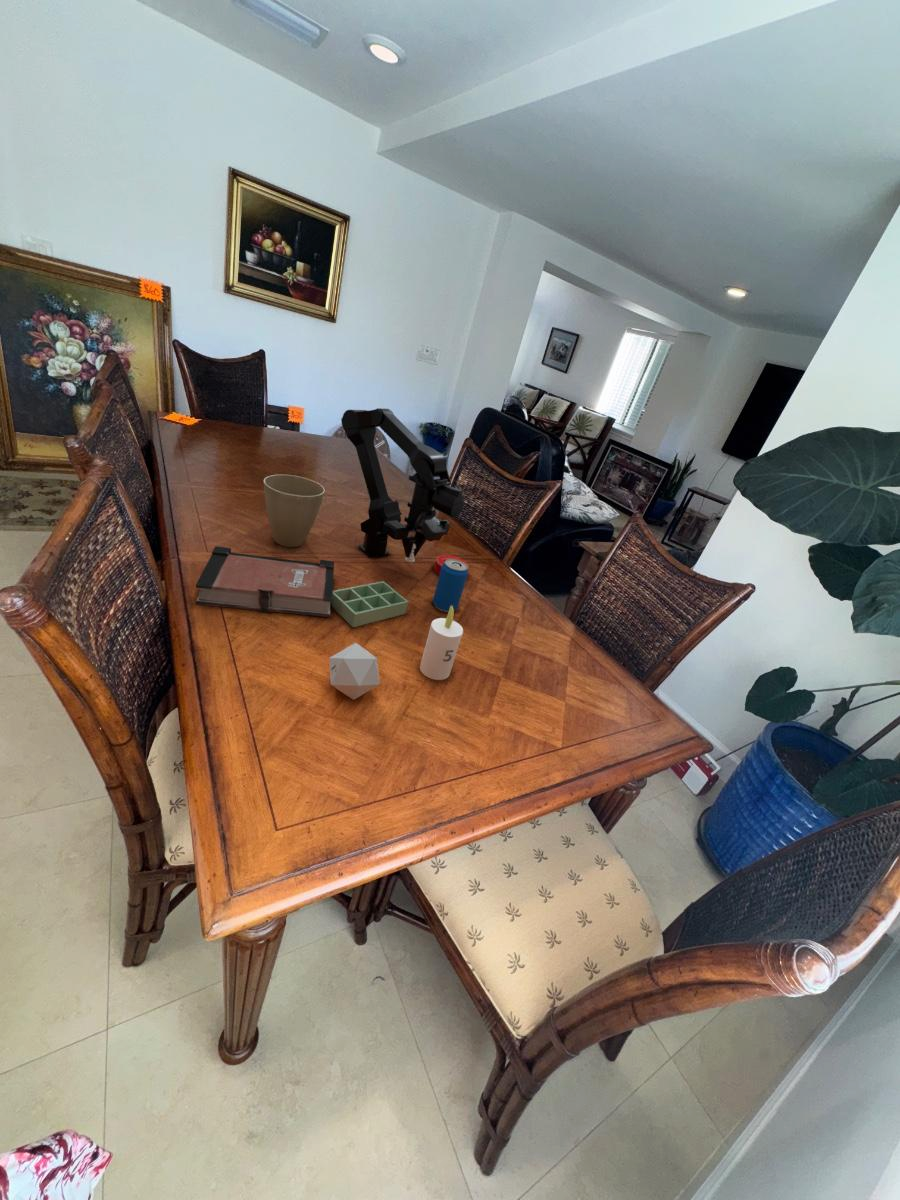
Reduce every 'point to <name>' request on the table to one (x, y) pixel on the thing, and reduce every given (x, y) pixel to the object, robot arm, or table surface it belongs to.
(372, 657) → the die
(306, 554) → the table surface
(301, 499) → the plant pot
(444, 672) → the candle
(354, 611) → the grid
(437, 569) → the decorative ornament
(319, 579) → the book
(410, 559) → the chess pawn
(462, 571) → the beverage can
